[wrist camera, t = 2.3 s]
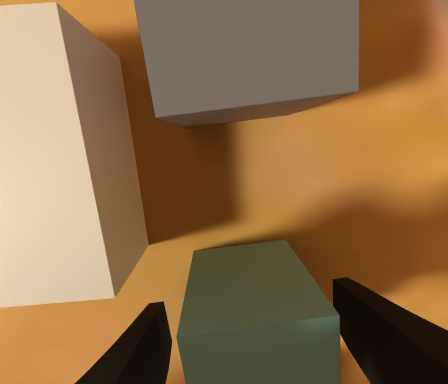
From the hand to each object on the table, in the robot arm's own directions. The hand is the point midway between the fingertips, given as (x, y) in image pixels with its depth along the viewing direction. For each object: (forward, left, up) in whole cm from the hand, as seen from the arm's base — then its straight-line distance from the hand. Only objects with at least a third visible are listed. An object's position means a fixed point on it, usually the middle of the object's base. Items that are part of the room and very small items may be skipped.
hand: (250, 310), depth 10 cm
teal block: (0, 0, -2) cm, 2 cm away
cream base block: (+7, +8, -2) cm, 11 cm away
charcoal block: (+10, 0, -2) cm, 10 cm away
